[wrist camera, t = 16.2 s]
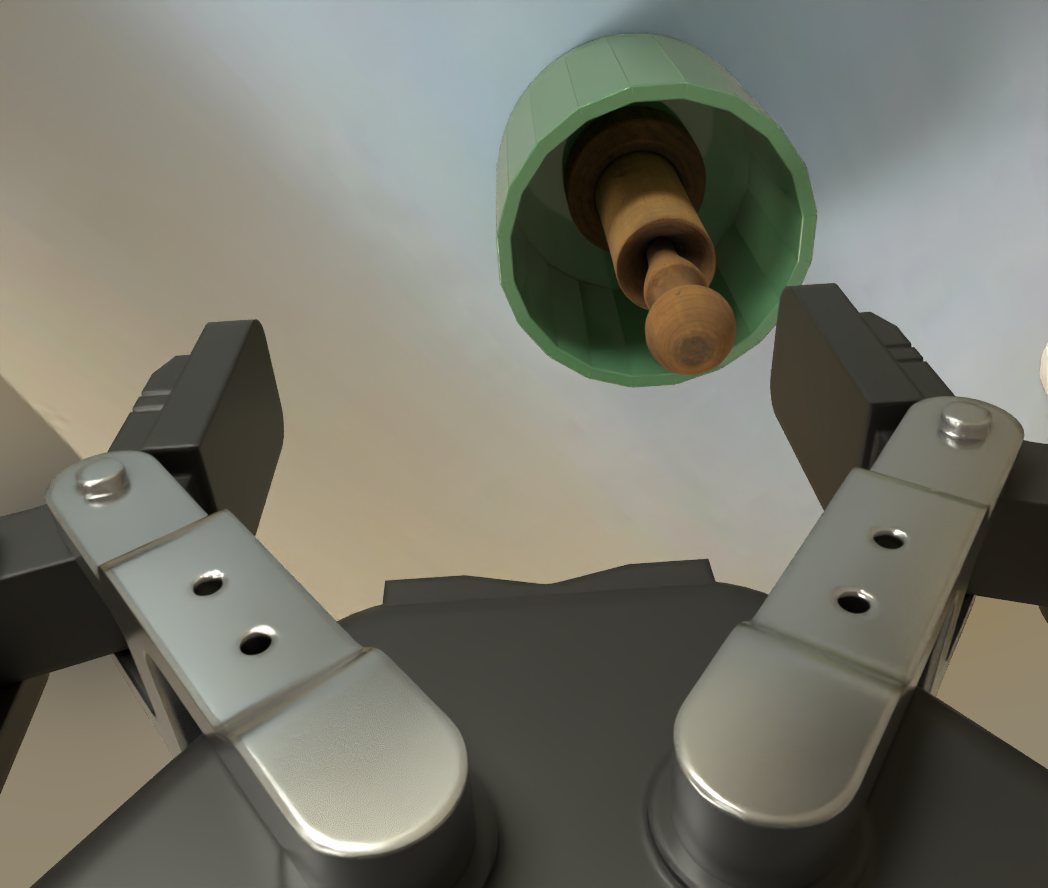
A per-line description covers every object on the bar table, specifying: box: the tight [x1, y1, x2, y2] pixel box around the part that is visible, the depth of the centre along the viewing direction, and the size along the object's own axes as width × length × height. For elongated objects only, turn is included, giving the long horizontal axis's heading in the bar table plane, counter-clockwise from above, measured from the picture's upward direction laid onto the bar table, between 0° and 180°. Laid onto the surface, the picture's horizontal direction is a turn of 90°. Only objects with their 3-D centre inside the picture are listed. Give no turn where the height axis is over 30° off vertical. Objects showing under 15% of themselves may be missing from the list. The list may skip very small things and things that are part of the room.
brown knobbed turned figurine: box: [564, 106, 736, 375], centre depth 38 cm, size 7×6×18 cm
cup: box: [496, 33, 817, 387], centre depth 42 cm, size 13×13×10 cm
